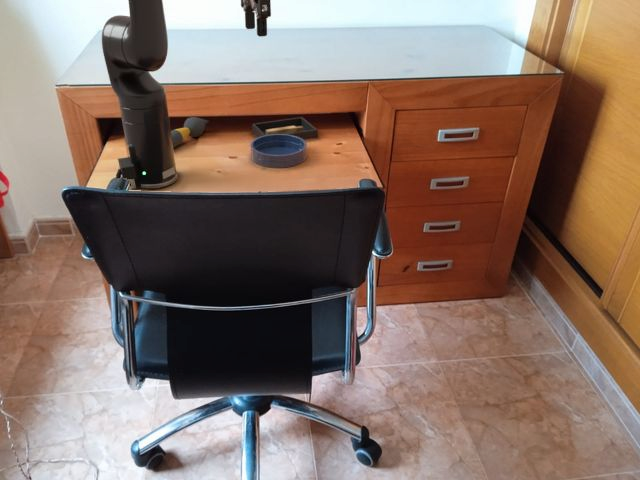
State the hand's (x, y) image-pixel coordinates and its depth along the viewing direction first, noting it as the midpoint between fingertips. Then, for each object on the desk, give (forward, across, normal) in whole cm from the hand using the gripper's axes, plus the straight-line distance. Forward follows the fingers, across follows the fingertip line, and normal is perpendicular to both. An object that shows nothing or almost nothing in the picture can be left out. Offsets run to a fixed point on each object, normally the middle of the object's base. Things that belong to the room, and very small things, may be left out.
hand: (256, 32), depth 126 cm
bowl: (+26, +14, 0) cm, 30 cm away
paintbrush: (+26, -3, -19) cm, 33 cm away
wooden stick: (+25, +2, +6) cm, 26 cm away
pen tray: (+26, +2, +6) cm, 26 cm away
